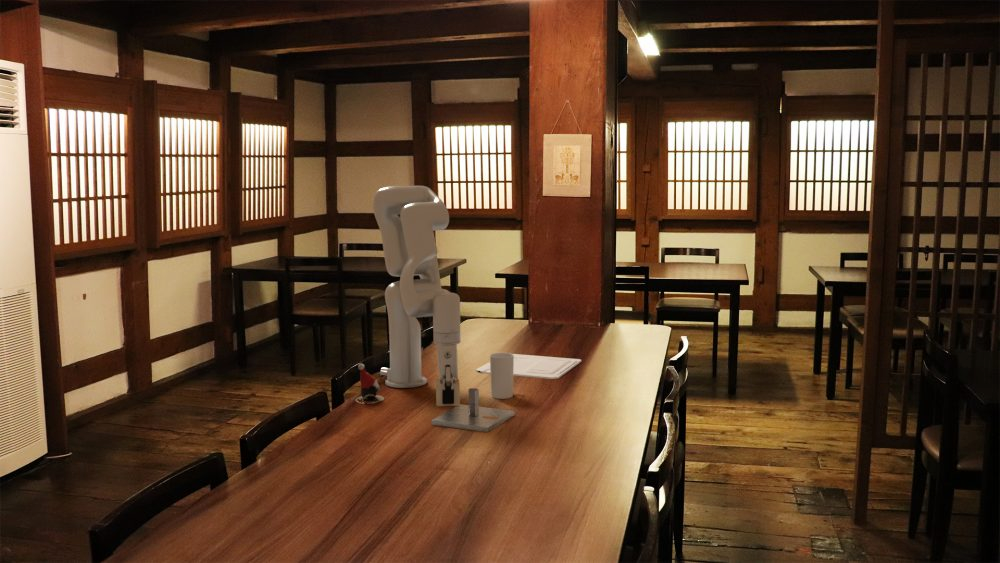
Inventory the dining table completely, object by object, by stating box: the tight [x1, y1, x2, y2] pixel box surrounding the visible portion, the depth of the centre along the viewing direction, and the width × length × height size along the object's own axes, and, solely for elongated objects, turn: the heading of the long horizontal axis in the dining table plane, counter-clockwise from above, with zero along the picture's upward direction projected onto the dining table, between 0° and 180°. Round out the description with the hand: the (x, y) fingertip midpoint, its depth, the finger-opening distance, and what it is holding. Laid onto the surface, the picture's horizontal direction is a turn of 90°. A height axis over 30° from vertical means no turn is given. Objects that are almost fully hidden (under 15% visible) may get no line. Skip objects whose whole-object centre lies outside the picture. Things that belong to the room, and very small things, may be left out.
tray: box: [475, 353, 582, 380], centre depth 283 cm, size 28×28×2 cm
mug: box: [489, 352, 514, 400], centre depth 247 cm, size 10×7×12 cm, turn 158°
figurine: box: [354, 363, 385, 405], centre depth 242 cm, size 8×10×12 cm
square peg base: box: [431, 387, 515, 433], centre depth 222 cm, size 16×16×8 cm
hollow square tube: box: [435, 378, 461, 407], centre depth 239 cm, size 6×6×6 cm
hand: (447, 399), depth 239 cm, fingers closed on hollow square tube, 6 cm apart
